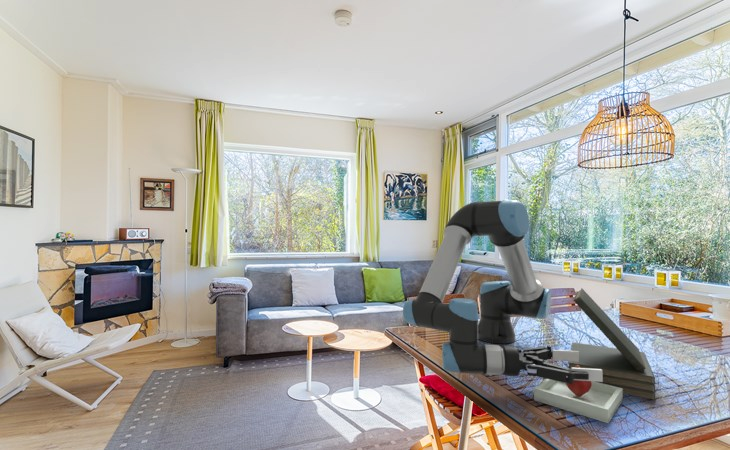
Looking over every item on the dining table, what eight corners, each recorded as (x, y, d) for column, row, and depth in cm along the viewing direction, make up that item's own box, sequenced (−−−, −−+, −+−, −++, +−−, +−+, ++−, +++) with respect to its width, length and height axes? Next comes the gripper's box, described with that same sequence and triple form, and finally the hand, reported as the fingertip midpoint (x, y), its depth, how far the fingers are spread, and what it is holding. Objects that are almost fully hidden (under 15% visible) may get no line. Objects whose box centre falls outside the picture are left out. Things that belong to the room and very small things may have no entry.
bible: (655, 401, 92) (653, 303, 93) (567, 384, 103) (566, 296, 103) (645, 372, 111) (643, 291, 112) (572, 360, 122) (571, 286, 123)
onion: (560, 391, 94) (559, 361, 95) (581, 390, 95) (580, 360, 95) (575, 402, 89) (574, 369, 89) (597, 400, 89) (596, 368, 89)
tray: (534, 400, 92) (534, 388, 92) (555, 382, 103) (555, 371, 103) (608, 423, 80) (608, 409, 81) (622, 400, 92) (622, 388, 92)
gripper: (493, 358, 107) (570, 362, 104) (512, 395, 83) (614, 402, 79) (493, 333, 108) (569, 336, 104) (512, 362, 83) (613, 368, 79)
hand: (589, 365), depth 92 cm, fingers open, 13 cm apart
